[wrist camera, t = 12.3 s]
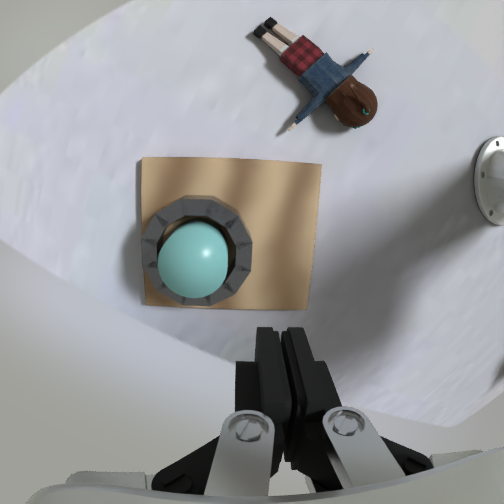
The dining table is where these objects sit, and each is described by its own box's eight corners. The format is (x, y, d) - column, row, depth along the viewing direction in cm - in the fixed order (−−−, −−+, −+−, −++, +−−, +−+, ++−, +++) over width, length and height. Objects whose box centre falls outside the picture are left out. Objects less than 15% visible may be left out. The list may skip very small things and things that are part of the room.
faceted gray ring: (252, 197, 31) (255, 201, 29) (247, 294, 34) (248, 307, 32) (148, 194, 31) (140, 198, 28) (151, 291, 34) (145, 303, 31)
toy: (216, 72, 30) (321, 166, 32) (211, 58, 25) (333, 166, 28) (302, -1, 27) (399, 86, 30) (309, -21, 23) (418, 76, 25)
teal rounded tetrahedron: (228, 218, 32) (228, 232, 26) (227, 274, 34) (226, 299, 28) (169, 217, 31) (156, 230, 26) (171, 273, 33) (159, 296, 27)
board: (319, 164, 32) (321, 164, 31) (304, 305, 36) (306, 309, 35) (144, 157, 30) (141, 157, 29) (148, 301, 35) (146, 305, 34)
